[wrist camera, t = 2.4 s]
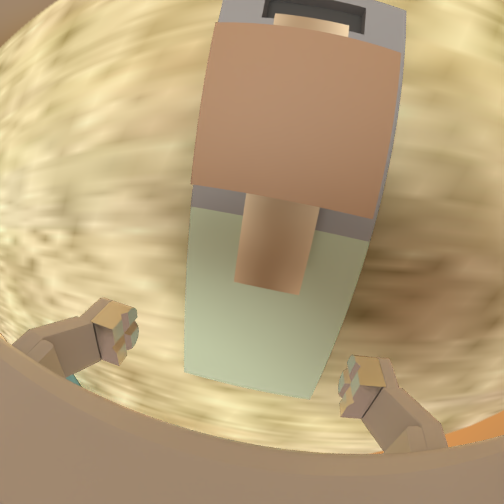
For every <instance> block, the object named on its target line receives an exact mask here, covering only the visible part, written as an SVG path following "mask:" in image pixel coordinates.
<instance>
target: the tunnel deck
mask: <svg viewBox="0 0 504 504" xmlns="http://www.w3.org/2000/svg"><path fill="white" fill-rule="evenodd" d="M275 13H277V14H287V15H295V16H302V17H309V18H315V19H320V20H326V21H331V22H336V23H340V24H345V25H349V33H348V37H345V36H340V35H336V34H331V33H326V32H321V31H315V30H310V29H303V28H296V27H289V26H280V25H273V23H274V17H275ZM405 38H406V11H405V10H402V9H400V8H397V7H394V6H391V5H388V4H385V3H382V2H378V1H375V0H223V3H222V7H221V12H220V16H219V21H218V22H216V23H215V28H214V33H213V38H212V42H211V48H210V53H209V58H208V63H207V69H206V75H205V81H204V87H203V93H202V99H201V106H200V112H199V119H198V126H197V134H196V142H195V150H194V158H193V167H192V176H191V184H193V190H192V201H191V212H190V225H189V238H188V253H187V271H186V293H185V328H184V372H186V373H189V374H193V375H196V376H200V377H204V378H207V379H211V380H215V381H219V382H223V383H227V384H231V385H235V386H239V387H244V388H248V389H253V390H258V391H263V392H268V393H273V394H278V395H284V396H290V397H296V398H303V399H309V400H310V398H311V396H312V394H313V392H314V390H315V388H316V385H317V383H318V381H319V379H320V377H321V374H322V372H323V370H324V368H325V365H326V363H327V361H328V358H329V356H330V354H331V351H332V349H333V346H334V344H335V341H336V339H337V336H338V334H339V331H340V329H341V326H342V324H343V321H344V318H345V316H346V313H347V310H348V308H349V305H350V302H351V299H352V296H353V293H354V291H355V288H356V285H357V282H358V279H359V276H360V273H361V270H362V266H363V263H364V260H365V257H366V253H367V250H368V247H369V243H370V240H371V236H372V233H373V229H374V226H375V222H376V218H377V214H378V211H379V207H380V203H381V199H382V194H383V190H384V186H385V181H386V177H387V172H388V168H389V163H390V158H391V153H392V147H393V142H394V136H395V130H396V124H397V118H398V111H399V104H400V96H401V87H402V78H403V68H404V55H405ZM246 193H249V194H254V195H260V196H265V197H271V198H276V199H281V200H286V201H292V202H297V203H301V204H306V205H311V206H316V207H320V209H319V214H318V218H317V223H316V227H315V232H314V236H313V240H312V245H311V249H310V253H309V257H308V261H307V265H306V269H305V273H304V277H303V281H302V285H301V289H300V293H299V295H294V294H289V293H284V292H279V291H275V290H270V289H265V288H260V287H255V286H251V285H246V284H241V283H237V282H234V276H235V269H236V262H237V254H238V247H239V240H240V233H241V226H242V219H243V212H244V205H245V199H246Z"/></svg>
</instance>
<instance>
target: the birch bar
mask: <svg viewBox="0 0 504 504" xmlns="http://www.w3.org/2000/svg"><path fill="white" fill-rule="evenodd" d="M273 25H280V26H289V27H296V28H303V29H310V30H315V31H321V32H326V33H331V34H336V35H340V36H345V37H348V33H349V25H345V24H340V23H336V22H331V21H326V20H320V19H315V18H309V17H302V16H295V15H287V14H277V13H275V17H274V23H273ZM319 209H320V207H316V206H311V205H306V204H301V203H297V202H292V201H286V200H281V199H276V198H271V197H265V196H260V195H254V194H249V193H246V199H245V205H244V212H243V219H242V226H241V233H240V240H239V247H238V254H237V262H236V269H235V276H234V282H237V283H241V284H246V285H251V286H255V287H260V288H265V289H270V290H275V291H279V292H284V293H289V294H294V295H299V293H300V289H301V285H302V281H303V277H304V273H305V269H306V265H307V261H308V257H309V253H310V249H311V245H312V240H313V236H314V232H315V227H316V223H317V218H318V214H319Z"/></svg>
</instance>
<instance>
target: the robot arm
mask: <svg viewBox="0 0 504 504" xmlns="http://www.w3.org/2000/svg"><path fill="white" fill-rule="evenodd" d="M136 318H137V310H136V309H135V308H134V307H131V306H128V305H125V304H122V303H119V302H116V301H113V300H110V299H107V298H104V297H103V298H100V299H99V300H98V301H97V302H96V303H94V304H93V305H92V306H91V307H90V308H89V309H88V310H87V311H86V312H85V313H84V314H82V315H81V316H80V317H77V316H76V317H72V318H69V319H65V320H61V321H58V322H54V323H51V324H47V325H43V326H40V327H36V328H32V329H29V330H28V331H27V332H25V333H24V334H23V335H22V336H21V337H20V338H19V339H18V340H17V341H16V342H14V343H13V344H12V345H11V344H9V343H8V342H6V341H5V340H4V339H2V338H1V337H0V504H504V435H502V436H498V437H495V438H491V439H487V440H483V441H479V442H475V443H470V444H465V445H460V446H454V447H448V445H447V441H446V438H445V435H444V432H443V428H442V425H441V423H440V422H439V421H437V420H436V419H435V418H434V417H433V416H432V415H431V414H430V413H429V412H428V411H427V410H426V409H424V408H423V407H422V406H421V405H420V404H419V403H418V402H417V401H416V400H415V399H414V398H412V397H411V396H410V395H409V394H408V393H407V392H406V391H405V390H404V389H403V388H399V386H398V382H397V379H396V376H395V373H394V370H393V367H392V364H391V361H390V359H389V358H381V357H367V356H358V355H351V357H350V358H349V360H348V362H347V364H348V368H347V369H345V370H344V371H343V372H342V375H341V377H340V380H339V386H338V392H339V395H340V396H341V397H342V400H341V401H340V403H339V404H340V415H341V417H347V418H358V419H361V420H362V421H363V423H364V424H365V426H366V427H367V429H368V430H369V431H370V433H371V434H372V436H373V437H374V438H375V440H376V441H377V443H378V444H379V445H380V447H381V448H382V450H383V451H384V453H383V454H334V453H318V452H306V451H296V450H288V449H280V448H273V447H266V446H260V445H254V444H249V443H244V442H239V441H234V440H229V439H225V438H221V437H217V436H213V435H209V434H205V433H201V432H197V431H194V430H190V429H187V428H183V427H180V426H177V425H174V424H171V423H168V422H165V421H162V420H159V419H156V418H153V417H150V416H147V415H145V414H142V413H139V412H137V411H134V410H132V409H129V408H127V407H124V406H122V405H120V404H117V403H115V402H113V401H110V400H108V399H106V398H104V397H101V396H99V395H97V394H95V393H93V392H91V391H89V390H87V389H85V388H83V387H81V386H79V385H77V384H75V383H73V382H71V381H69V380H67V379H66V377H68V376H70V375H73V374H75V373H77V372H79V371H81V370H83V369H85V368H87V367H89V366H91V365H93V364H95V363H97V362H99V361H101V359H102V360H104V361H107V362H110V363H112V364H115V365H118V366H120V364H121V363H122V362H123V360H124V359H125V358H126V356H127V351H126V350H129V349H131V348H133V347H134V345H135V344H136V341H137V338H138V333H139V330H138V325H137V324H136V322H135V321H134V320H135V319H136Z"/></svg>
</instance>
